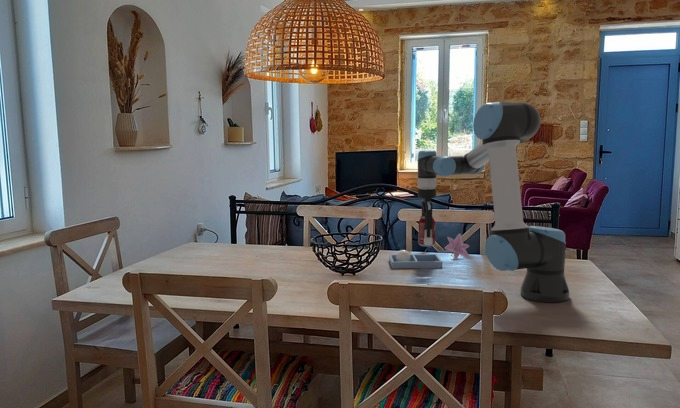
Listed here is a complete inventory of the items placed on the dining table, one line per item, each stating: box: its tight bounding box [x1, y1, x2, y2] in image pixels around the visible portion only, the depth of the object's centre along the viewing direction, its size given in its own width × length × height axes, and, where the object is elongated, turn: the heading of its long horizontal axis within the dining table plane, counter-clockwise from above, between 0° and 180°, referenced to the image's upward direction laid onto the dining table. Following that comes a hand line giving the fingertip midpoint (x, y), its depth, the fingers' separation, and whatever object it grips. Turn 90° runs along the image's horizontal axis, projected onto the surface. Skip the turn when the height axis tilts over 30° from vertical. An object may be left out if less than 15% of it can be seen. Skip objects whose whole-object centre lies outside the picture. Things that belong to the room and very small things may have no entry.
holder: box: [388, 253, 443, 269], centre depth 220 cm, size 14×20×3 cm, turn 89°
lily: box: [444, 233, 470, 260], centre depth 233 cm, size 12×12×10 cm
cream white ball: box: [395, 249, 411, 262], centre depth 220 cm, size 6×6×6 cm
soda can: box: [418, 215, 436, 247], centre depth 218 cm, size 7×7×12 cm
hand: (426, 243), depth 219 cm, fingers closed on soda can, 7 cm apart
